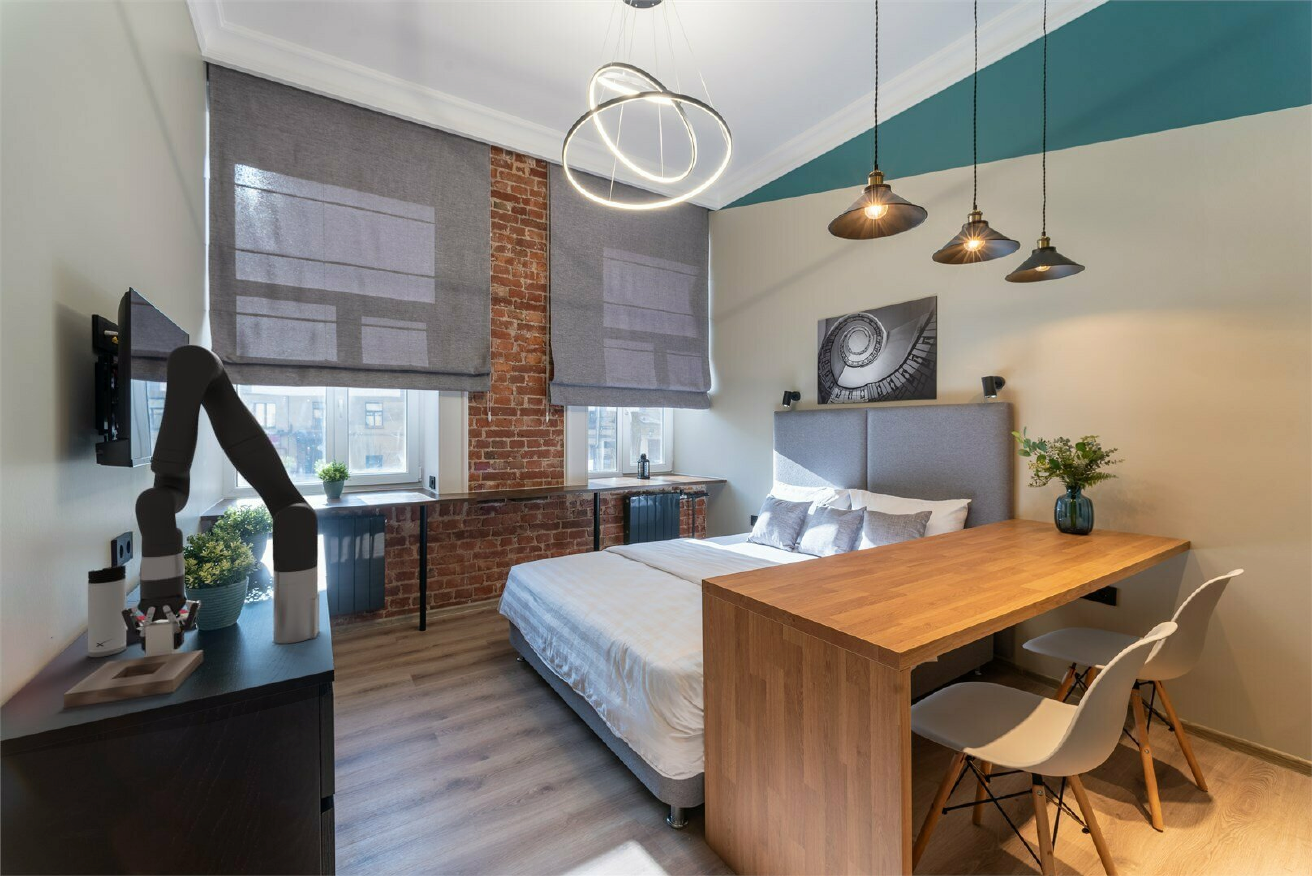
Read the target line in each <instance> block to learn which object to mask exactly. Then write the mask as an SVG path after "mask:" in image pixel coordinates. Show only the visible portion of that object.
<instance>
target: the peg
mask: <svg viewBox="0 0 1312 876" xmlns="http://www.w3.org/2000/svg"><path fill="white" fill-rule="evenodd" d="M174 633H175V632H174V625H173V623H171V624H170V623H169V621H168V620H158V621H156V622H154V623H153V624H151V625H150V626H146V653H145V657H150V656H158V655H166V654H175V653H181V651H180V649H181V647H180V648H179V649H174Z"/></svg>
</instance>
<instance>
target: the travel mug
mask: <svg viewBox="0 0 1312 876" xmlns="http://www.w3.org/2000/svg"><path fill="white" fill-rule="evenodd" d="M126 571H127V568H126V564H125V565H116V566H115V565H114V566H109V567H104V568H102V569H98V570H89V571H88V572H87V578H88V579H87V585H88V586H87V648H88V649H87V655H88V657H89V658H102V657H107V656H112V655H113V656H114V655H116V654H119V653H121V652H123V651H125V650H126V649H127V644H126V623H125V621H124V618H123V616H122V611H123V610H125V609H126V608H127V577H126Z"/></svg>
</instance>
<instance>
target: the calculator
mask: <svg viewBox="0 0 1312 876" xmlns="http://www.w3.org/2000/svg"><path fill="white" fill-rule="evenodd" d="M180 613H181V615H182V620H183V623H186V620H187V617H188V614H189V611H188V610H187V609H185V608H182V609H181V611H180ZM137 618H138V621H139V623H140V626H141V627H143V623H144V620H145V618H146V616H145V615H144V614H142V615H137ZM194 629H197V628H196V624H194V625H193V626H192V627H190V628H189V629H186V630H184V632H185V631H190V630H194ZM137 642H138V643H139V642H141V636H139V635H130V633H129V631H128V628H127V626H126V645H130V644H135V643H137Z"/></svg>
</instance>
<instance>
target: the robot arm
mask: <svg viewBox="0 0 1312 876" xmlns="http://www.w3.org/2000/svg"><path fill="white" fill-rule="evenodd" d="M165 388H166V389H165V397H164V398H165V400H164V407H163V413H162V417H161V420H160V425H159V429H158V433H157V436H156V441H155V444H154V447H153V448H154V449H153V451H152V457H151V460H150V471H152V473H154V479H153V485H152V486H153V487H149V488H147V489H145V490H143V491H141V492H140V494H139V495H138V496H137V498H136V502H135V506H134V509H135V510H134V511H135V519H136V521H137V526H138V529H139V532H140V535H141V558H140V559H141V560H140V565H139V573H138V575H139V598H140V599H139V601H138V602H139V603H138V604H137V605H134V606H129V607H126V609H125V610H123V611H122V616H123V618H124V621H125V623H126V626H127V628H128V631H129V633H130V635H139V636H141V641H140V649H141V650H142V651H144V653H145V654H146V626H150V625H151V624H153V623H154V622H156V621H158V620H168V621H169V623H170V624H171V623H173V625H174V632H175V633H174V649H179V648H180V649H181V647H182V646H183V645H184V643H185V631H184V630H186V629H189V628H190V627H192V626H193V625H194V624H195V621H196V618H197V617H198V614H199V612H200V609H201V606H202V602H203V601H202V600H199V599H198V600H196V601H195V600H188V598H187V597H186V593H185V590H186V589H185V588H186V587H185V586H186V585H185V584H186V583H185V582H186V581H185V580H186V579H185V574H186V573H185V571H186V570H185V568H186V567H185V566H186V565H185V564H186V563H185V557H184V535H183V531H182V529H181V528H179V527H178V525H177V519H176V514H178V513H180V512H181V511H183V510H184V508H185V507H186V505H187V504H188V501H189V497H190V491H191V469H192V465H193V462H194V457H195V454H196V448H197V444H198V436H199V421H200V419H199V418H200V411H201V406H202V407H203V409H204V410H205V413H206V415H207V417H208V419H209V423H210V425H211V428H212V430H213V433H214V435H215V437H216V441H217V442H218V444H219V446H220V448H221V450H222V451H223V453H224V454H225V456H226V458H227V459H228V460H229V461H230V464H231V465H232V466H233V467H234V468H235V470H236V471H237V473H239V475H241V477H242V479H244V480H245V481H246V482H247V483H248V484H249V486H250V487H252V488H253V489H254V490H255V492H257V493H258V495H259V496H260V498H261V500H262V501H263V503H264V505H265V507H266V508H267V511H268V513H269V514H270V517H271V519H272V521H273V522H272V564H273V565H272V566H273V568H272V569H273V570H272V571H273V575H272V576H273V584H272V585H273V590H272V592H273V600H272V601H273V603H272V605H273V609H272V610H273V616H272V617H273V621H272V622H273V632H272V633H273V642H274V643H277V644H291V643H292V644H294V643H299V642H302V641H306V640H309V639H310V640H311V639H315V638H316V637H318V636H317V635H318V634H319V632H320V594H319V593H318V591H319V589H318V587H319V586H318V585H319V584H318V581H319V580H318V579H319V575H318V574H319V573H318V570H319V569H318V568H319V567H318V565H319V564H318V562H319V561H318V560H319V546H318V544H319V543H318V541H319V522H318V514H317V512H316V510H315V509H314V508H313V507H312V506H311V504H309V502H308V501H307V500H306V499H305V498H304V496H303V495H302V494H301V493H300V491H299V490H298V489H297V487H296V485H294V483H293V481H292V480H291V477H290V475H289V474H288V472H287V470H286V468H285V464H284V463H283V461H282V459H281V456H280V455H279V453H278V451H277V448H276V447H275V445H274V444H273V443H272V441H271V438H270V437H269V436H268V435H267V433H266V432H265V430H264V428H263V427H262V425H261V424H260V422H259V421H258V420H257V418H256V417H255V415H253V412H251V411H250V409H249V408H248V407H247V405H246V404H245V403H244V401H242V399H241V398H240V396H239V395H238V392H237V391H236V389H235V386H234V385H233V383H232V381H231V379H230V377H229V374H228V373H227V370H226V368H225V366H224V363H223V361H222V360H221V358H220V357H219V355H217V354H216V353H215V352H213V351H212V350H210V349H208V348H206V347H204V346H202V345H198V344H184V345H180V346H177V347H175V348H174V349H172V351H171V352H170V353H169V354H168V356H167V359H166V387H165ZM185 606H186V610H187V611H189V614H188V617H187V620H186V623H183V620H182V615H181V613H180V611H181V609H184V607H185ZM139 612H140V613H142V615H145V616H146V618H145V620H144V623H143V627H141V626H140V623H139V621H138V618H137V616H138V614H139ZM186 631H187V630H186Z"/></svg>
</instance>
